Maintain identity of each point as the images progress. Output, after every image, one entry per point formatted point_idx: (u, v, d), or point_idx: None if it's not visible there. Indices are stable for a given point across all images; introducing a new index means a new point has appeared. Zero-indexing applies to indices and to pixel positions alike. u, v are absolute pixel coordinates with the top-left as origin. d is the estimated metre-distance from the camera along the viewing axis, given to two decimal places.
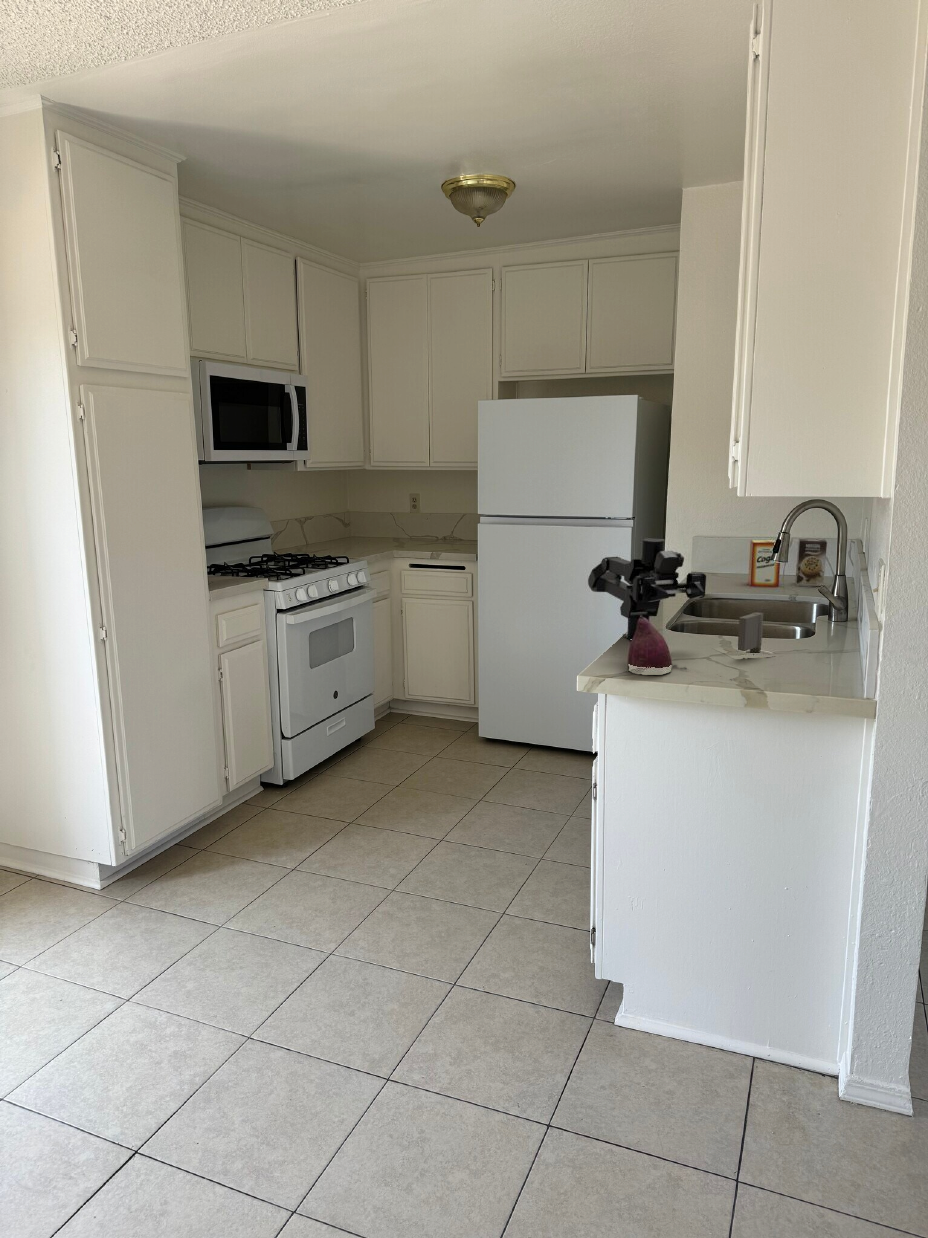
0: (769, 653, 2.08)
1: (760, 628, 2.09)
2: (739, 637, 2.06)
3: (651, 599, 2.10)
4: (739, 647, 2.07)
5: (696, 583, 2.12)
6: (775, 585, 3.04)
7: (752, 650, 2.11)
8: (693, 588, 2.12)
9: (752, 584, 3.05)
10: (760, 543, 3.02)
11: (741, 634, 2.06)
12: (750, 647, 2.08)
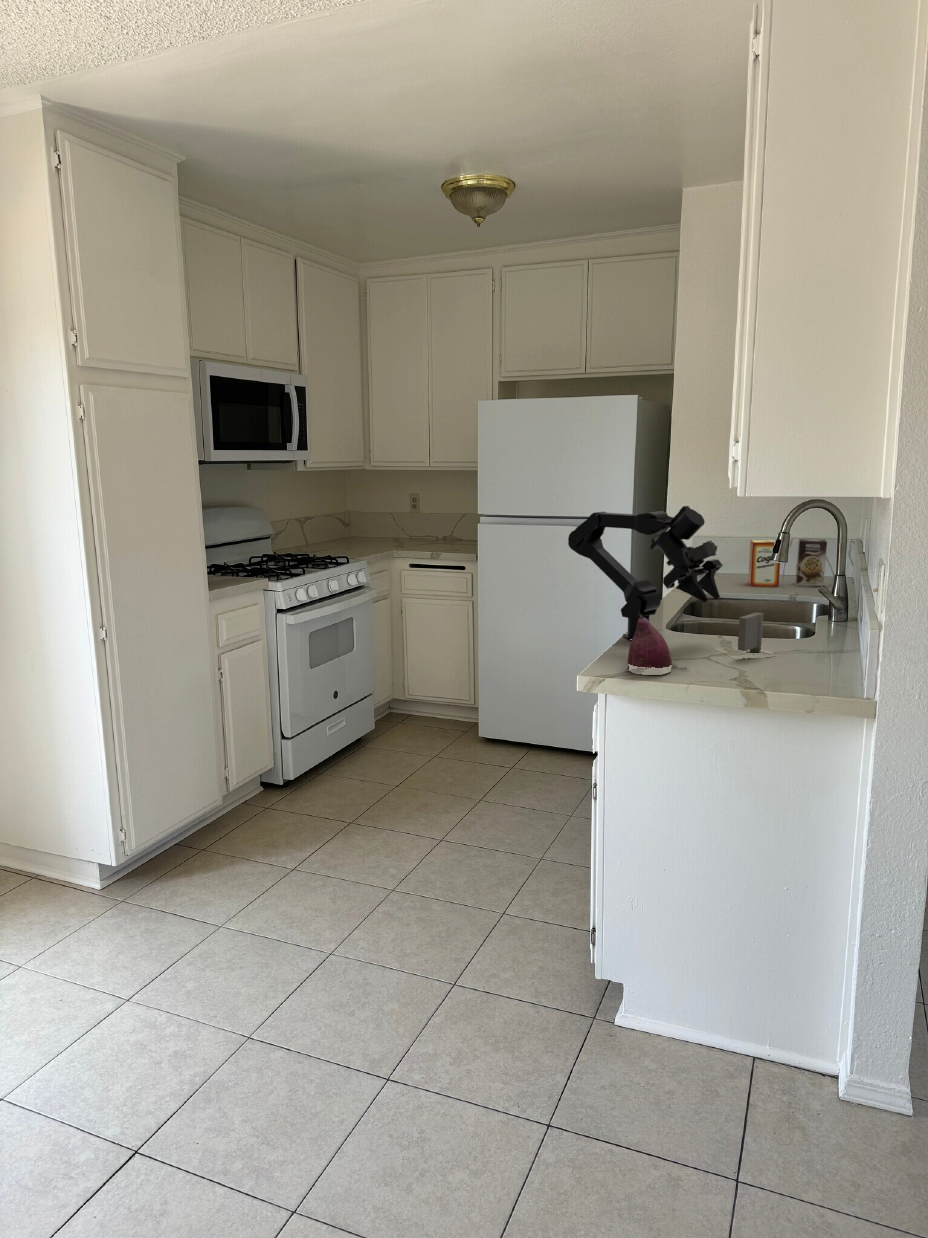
0: (769, 653, 2.08)
1: (760, 628, 2.09)
2: (739, 637, 2.06)
3: (685, 591, 2.15)
4: (739, 647, 2.07)
5: (712, 580, 2.17)
6: (775, 585, 3.04)
7: (752, 650, 2.11)
8: (706, 581, 2.18)
9: (752, 584, 3.05)
10: (760, 543, 3.02)
11: (741, 634, 2.06)
12: (750, 647, 2.08)
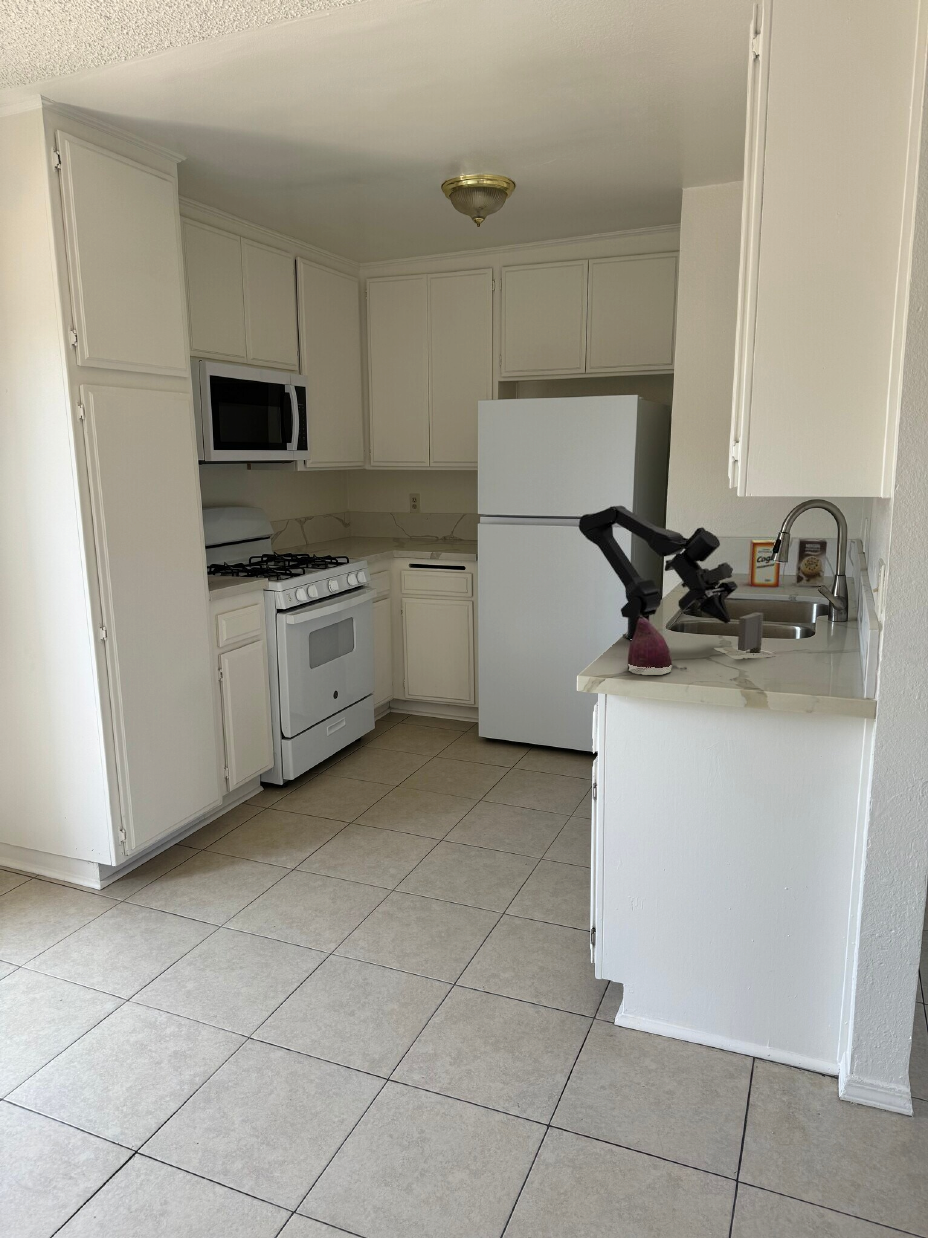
0: (769, 653, 2.08)
1: (760, 628, 2.09)
2: (739, 637, 2.06)
3: (706, 612, 2.14)
4: (739, 647, 2.07)
5: (722, 603, 2.14)
6: (775, 585, 3.04)
7: (752, 650, 2.11)
8: None
9: (752, 584, 3.05)
10: (760, 543, 3.02)
11: (741, 634, 2.06)
12: (750, 647, 2.08)
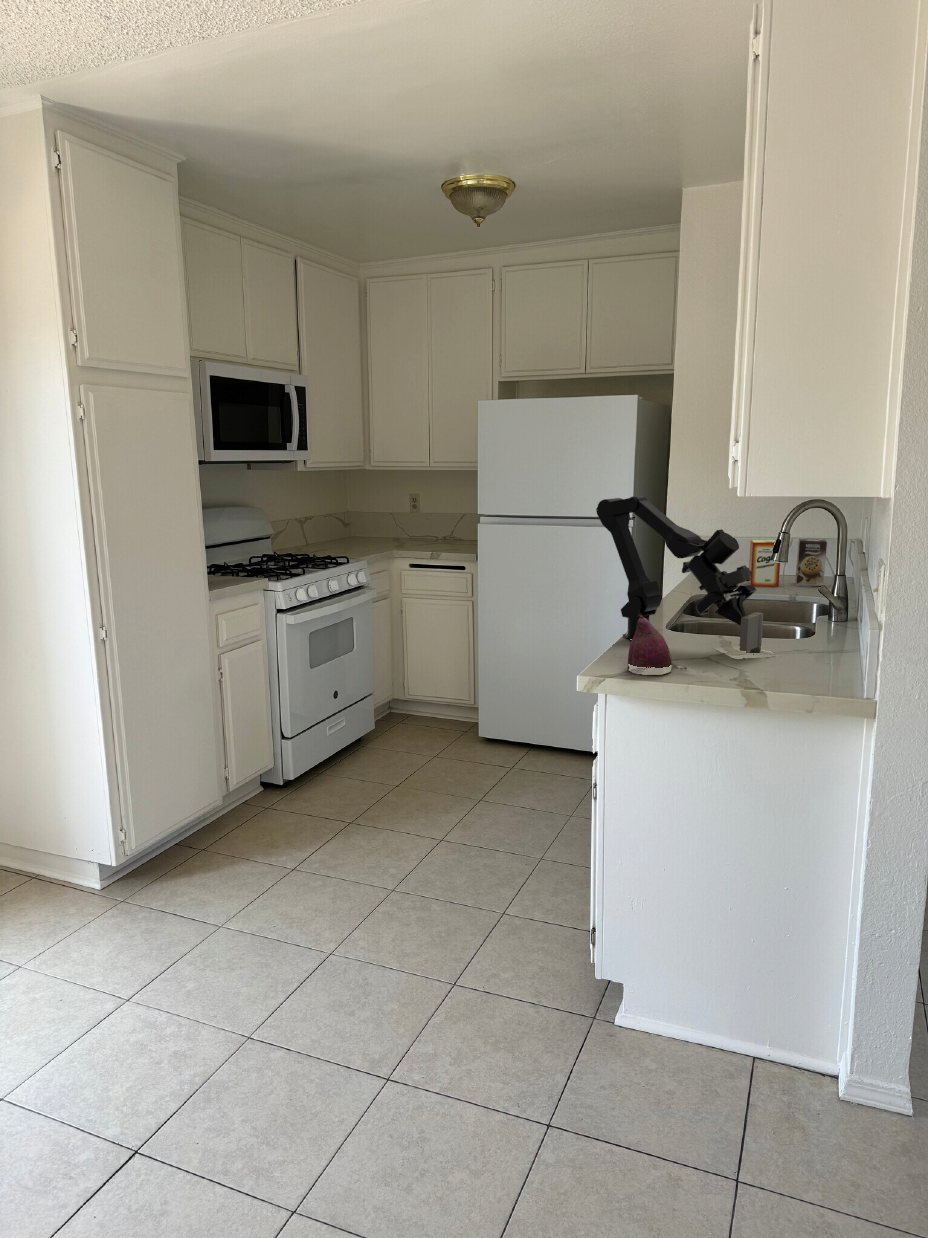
0: (770, 653, 2.08)
1: (760, 628, 2.09)
2: (741, 637, 2.06)
3: (724, 615, 2.11)
4: (741, 647, 2.07)
5: (741, 607, 2.10)
6: (775, 585, 3.04)
7: (752, 650, 2.10)
8: None
9: (752, 584, 3.05)
10: (760, 543, 3.02)
11: (743, 634, 2.06)
12: (751, 647, 2.08)
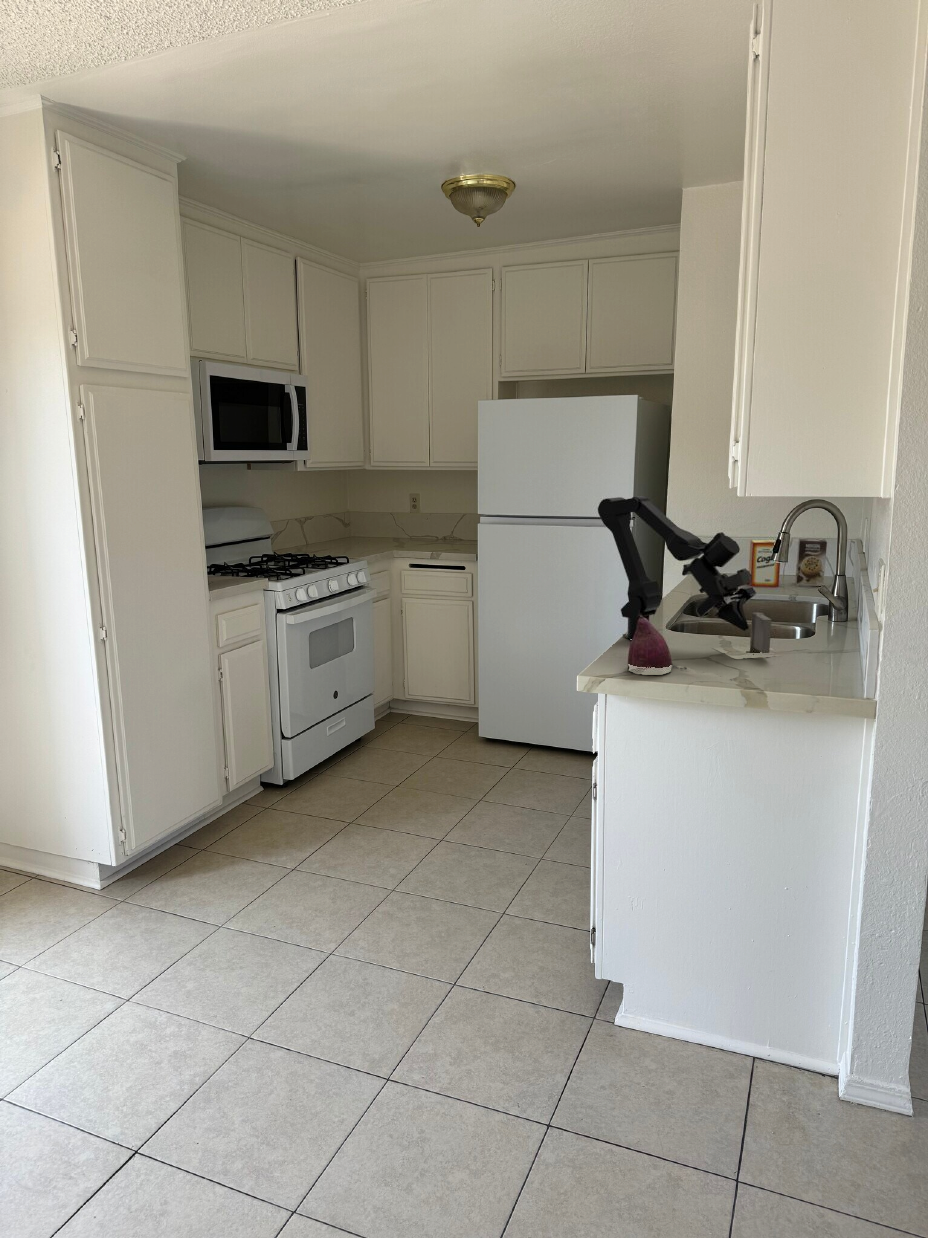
0: (771, 650, 2.11)
1: None
2: (764, 639, 2.04)
3: (724, 618, 2.11)
4: (764, 649, 2.04)
5: (741, 610, 2.10)
6: (775, 585, 3.04)
7: (757, 650, 2.10)
8: None
9: (752, 584, 3.05)
10: (760, 543, 3.02)
11: (766, 636, 2.04)
12: None
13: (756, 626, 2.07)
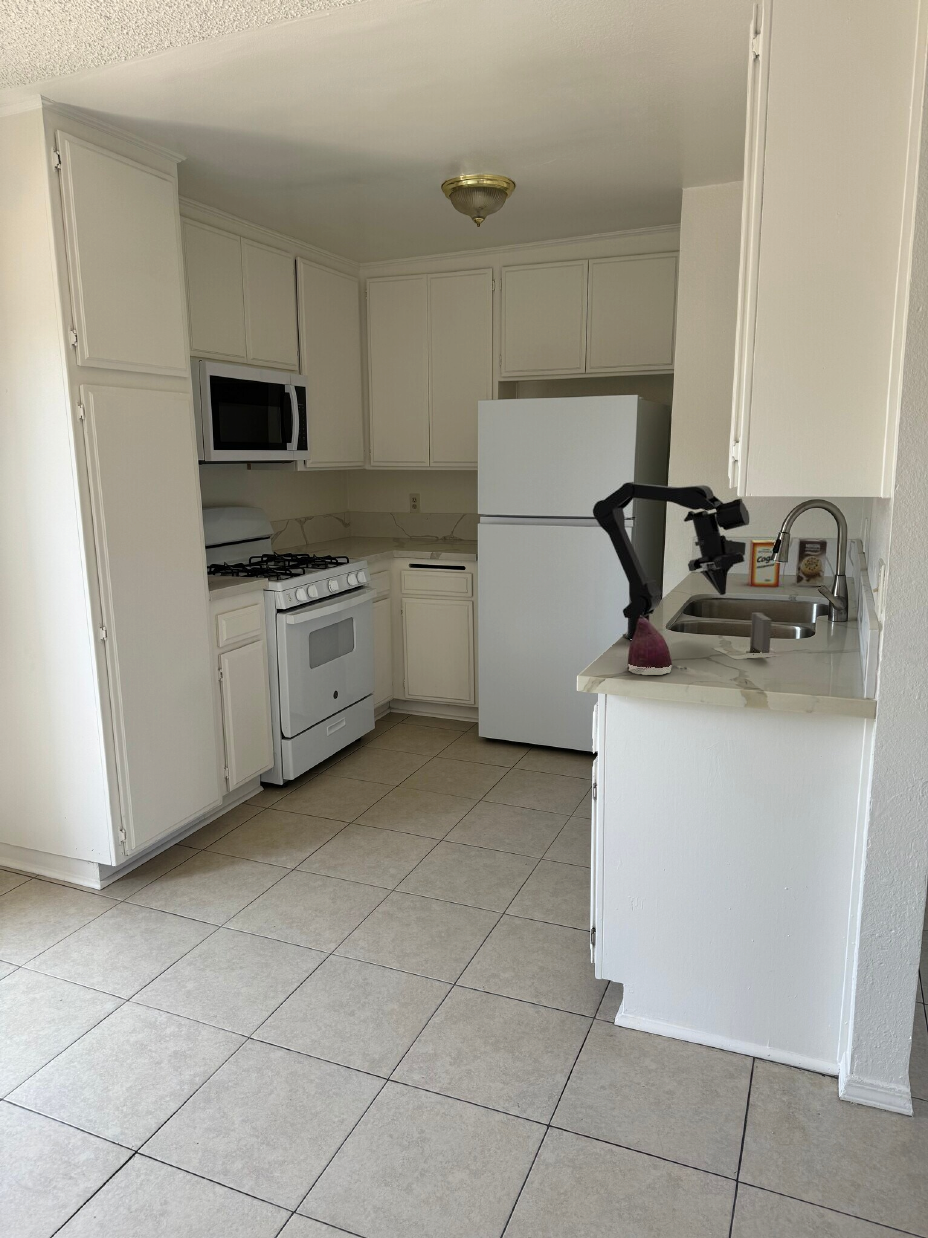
0: (771, 650, 2.11)
1: None
2: (764, 639, 2.04)
3: (714, 576, 2.16)
4: (764, 649, 2.04)
5: None
6: (775, 585, 3.04)
7: (757, 650, 2.10)
8: None
9: (752, 584, 3.05)
10: (760, 543, 3.02)
11: (766, 636, 2.04)
12: None
13: (756, 626, 2.07)
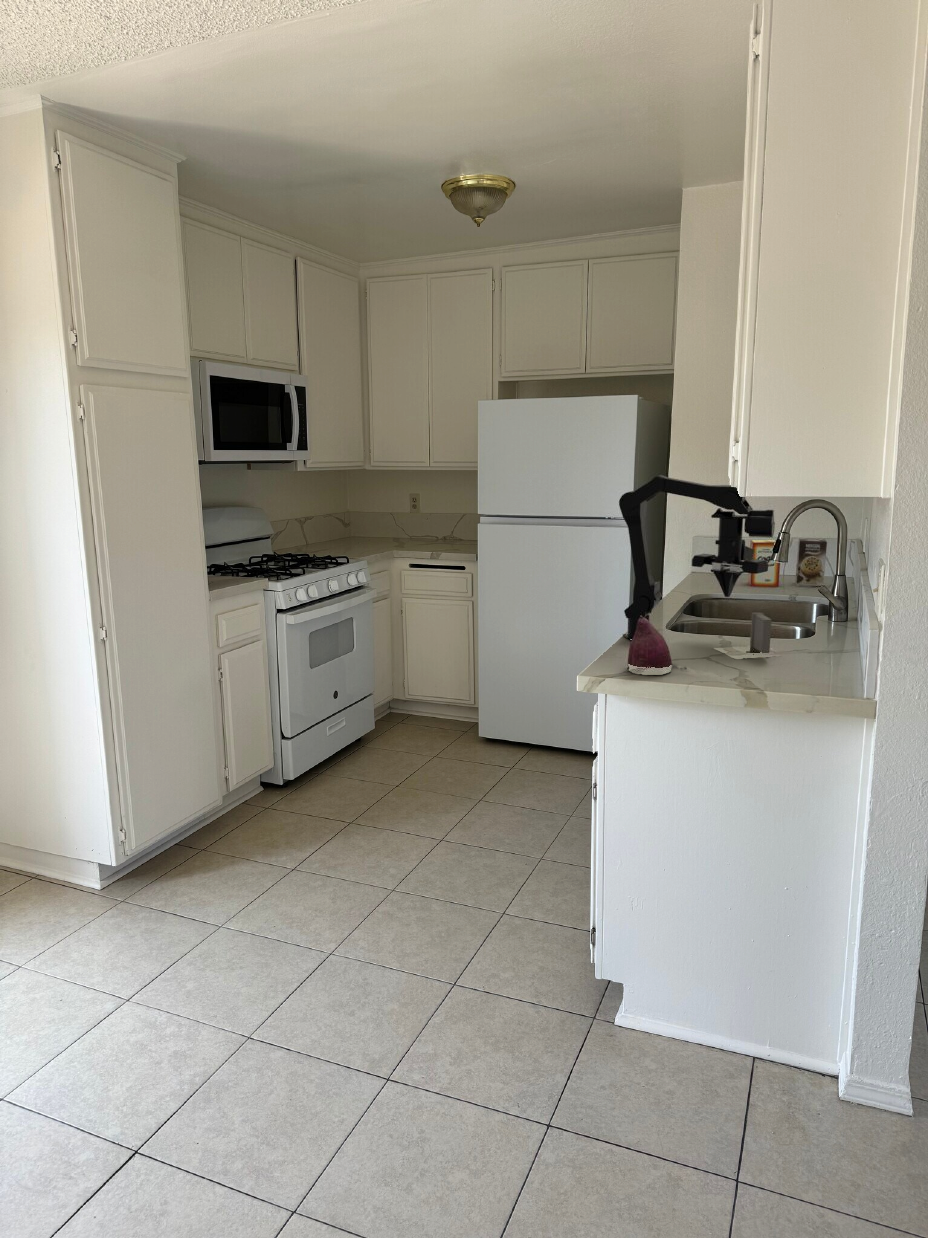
0: (771, 650, 2.11)
1: None
2: (764, 639, 2.04)
3: (730, 579, 2.17)
4: (764, 649, 2.04)
5: None
6: (775, 585, 3.04)
7: (757, 650, 2.10)
8: None
9: (752, 584, 3.05)
10: (760, 543, 3.02)
11: (766, 636, 2.04)
12: None
13: (756, 626, 2.07)
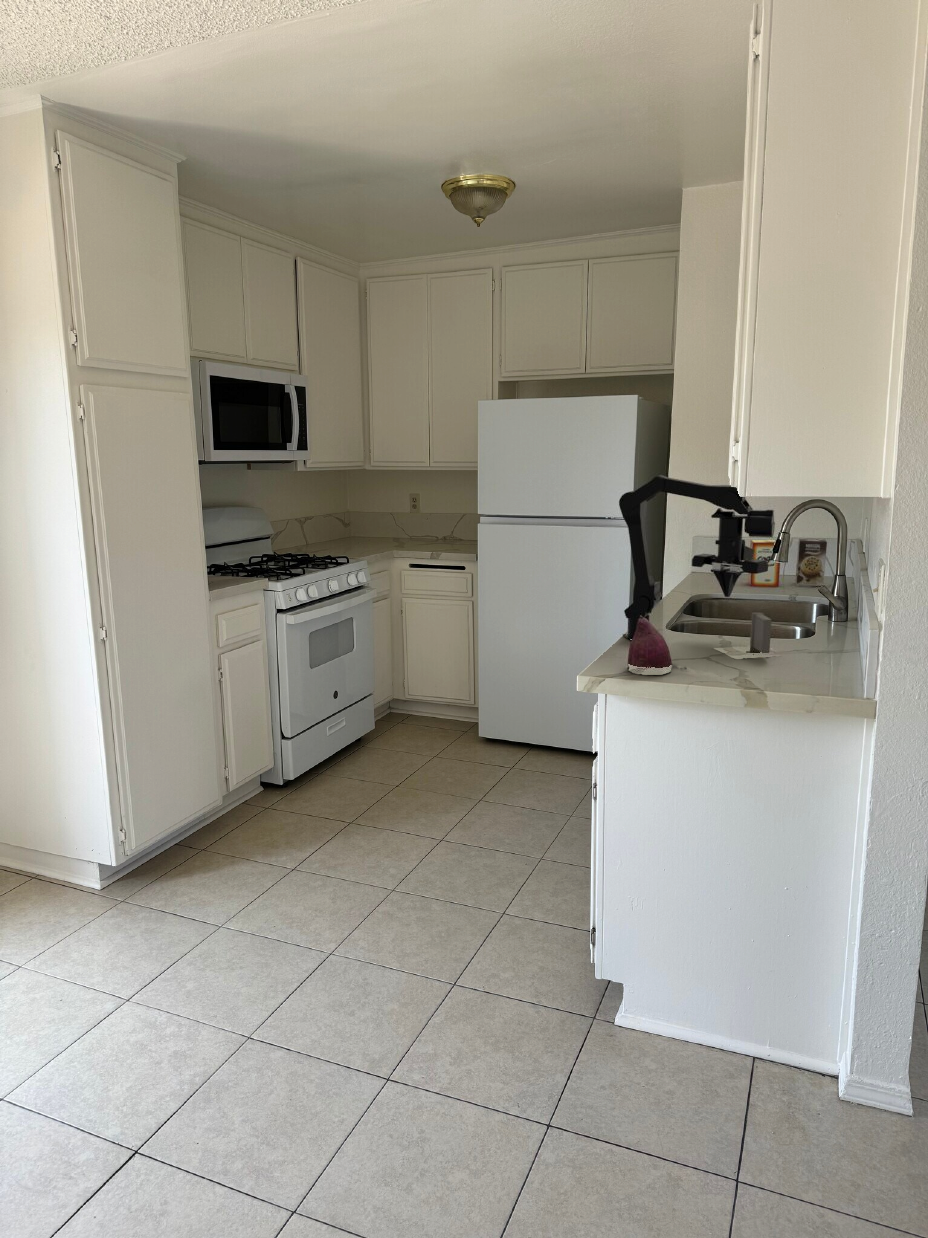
0: (771, 650, 2.11)
1: None
2: (764, 639, 2.04)
3: (730, 579, 2.17)
4: (764, 649, 2.04)
5: None
6: (775, 585, 3.04)
7: (757, 650, 2.10)
8: None
9: (752, 584, 3.05)
10: (760, 543, 3.02)
11: (766, 636, 2.04)
12: None
13: (756, 626, 2.07)
